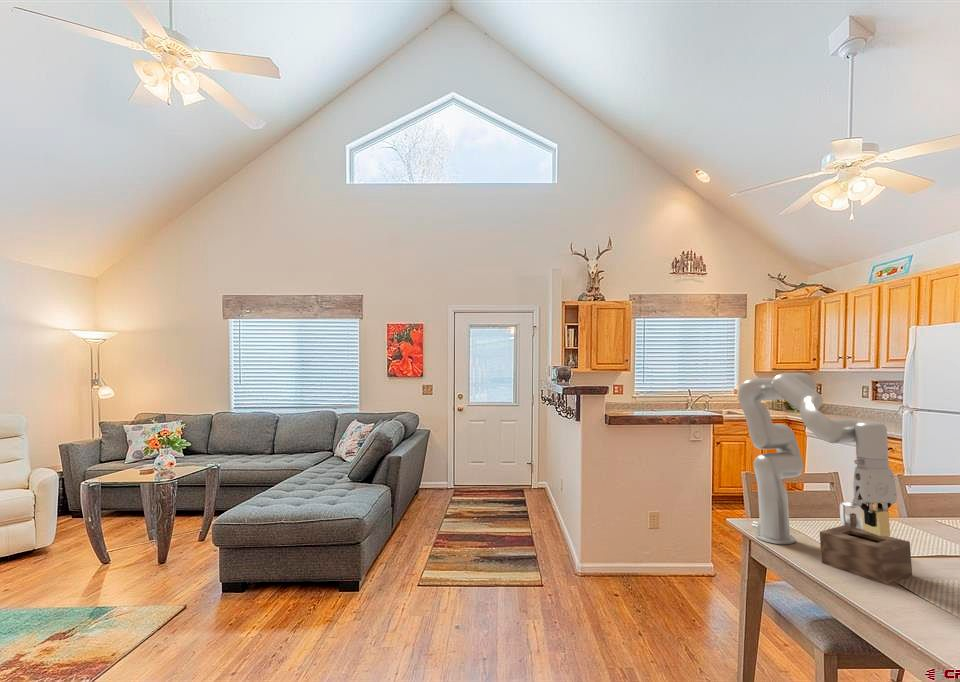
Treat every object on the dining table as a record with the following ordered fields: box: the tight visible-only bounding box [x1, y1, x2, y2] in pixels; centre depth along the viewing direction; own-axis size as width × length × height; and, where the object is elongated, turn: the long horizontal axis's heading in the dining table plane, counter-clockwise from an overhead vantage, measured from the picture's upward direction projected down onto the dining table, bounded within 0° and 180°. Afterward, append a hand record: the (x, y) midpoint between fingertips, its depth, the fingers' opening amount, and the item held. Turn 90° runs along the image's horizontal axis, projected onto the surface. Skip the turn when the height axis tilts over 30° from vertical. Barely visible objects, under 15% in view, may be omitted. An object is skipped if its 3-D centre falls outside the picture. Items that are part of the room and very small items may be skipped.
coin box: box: [819, 525, 913, 585], centre depth 152 cm, size 18×14×10 cm
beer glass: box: [839, 501, 863, 530], centre depth 170 cm, size 7×7×15 cm
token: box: [862, 506, 891, 537], centre depth 144 cm, size 6×3×7 cm, turn 3°
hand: (875, 524), depth 144 cm, fingers closed on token, 2 cm apart
